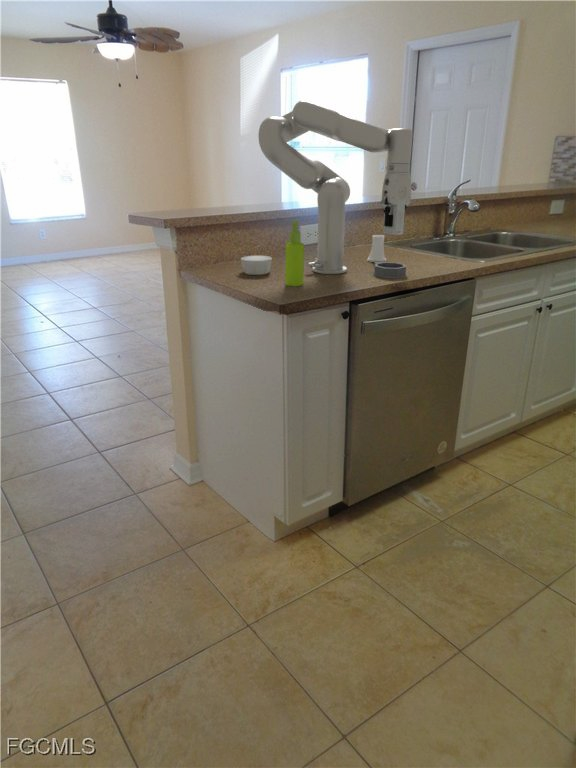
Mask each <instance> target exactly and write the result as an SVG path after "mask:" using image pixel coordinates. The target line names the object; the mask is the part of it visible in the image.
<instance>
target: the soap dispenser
mask: <svg viewBox="0 0 576 768" xmlns="http://www.w3.org/2000/svg"><path fill="white" fill-rule="evenodd" d="M291 225H292V229H291V232H289V242H287V243H285V285H286V286H289V287H290V286H291V287H298V286H299V287H300V286H303V285H304V262H305V261H304V259H305V257H304V256H305V252H304V251H305V244H304V243H303V242H301V232H299V231H298V227H299V221H298V220H292V221H291Z"/></svg>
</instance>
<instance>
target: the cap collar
mask: <svg viewBox="0 0 576 768" xmlns="http://www.w3.org/2000/svg"><path fill="white" fill-rule="evenodd" d="M406 271H407V266H406V264H404V263H400V262H393V261H392V262H391V261H390V262H387V261H386V262H381V263H374V270H373V273H372V275H373V276H374V275H375V276H374V277H377V278H381V277H382V278H383V279H401V278H402V277H403V278H405V277H407V274H406Z"/></svg>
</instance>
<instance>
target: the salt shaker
mask: <svg viewBox="0 0 576 768" xmlns="http://www.w3.org/2000/svg"><path fill="white" fill-rule="evenodd" d="M371 236H372V242H371V243H372V245H371V249H370V251H369V255H368V257H367V258H366V259H367V260H366V261H367V262H368V261H369V262H368V263H372V262H374V264H375V263H381V262H387V258H386V255H385V250H384V249H385V247H384V243H385V241H384V240H385V236H386V235H384V234H373V235H371Z"/></svg>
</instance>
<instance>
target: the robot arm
mask: <svg viewBox="0 0 576 768" xmlns="http://www.w3.org/2000/svg"><path fill="white" fill-rule="evenodd" d="M308 132H312V133H316V134H319V135H321V136H324V137H326V138H330V139H332V140H334V141H337V142H340V143H341V142H342V143H345V144H347V145H350V146H353V147H356V148H357V149H361V150H364V151H365V152H366V151H367V152H370V153H383V152H387V155H386V157H387V158H386V167H385V169H386V170H385V171H386V173H385V176H384V178H383V185H382V191H381V200H380V202H379V207H380V208H381V210H383V215H384V214H385V222H384V221H383V224H384V226H388V227H392V225H393V215H392V212H393V207H394V206H395V205H397V200H398V198H399V199H401V200H402V201H404V199H405V210H406V209H407V208H408V207H409V205H410V204H411V198H412V197H411V196H412V177H411V173H410V165H411V157H412V156H411V155H412V144H413V135H414V134H413V130H412V129H410V128H406V127H403V128H402V127H401V128H400V127H399V128H398V127H397V128H396V127H395V128H390V129H389V128H388V129H387V128H383V127H378V126H376V125H372V124H370V123H366V122H364V121H361V120H359V119H355V118H353V117H351V116H349V115H348V114H346V113H345V112H342V111H339V110H336V109H333V108H330V107H327V106H325V105H322V104H319V103H317V102H314V101H311V100H309V99H302V100H299V101H297V102H296V103H295V105H294V106H293V108H292V111H289V112H288V113H286V114H284V115H282V116H274V115H273V116H269V117H267V118H265V119H263V121H262V122H261V123H260V125H259V129H258V135H257V137H258V145H259V147H260V150H261V152H262V154H263V156H264V157H265V158H266V159H267V160H268V162H270V163H271V164H272V165H273V166H275V167H276V168H277V169H278V170H280V171H281V172H282V173H284V174H285V175H286V176H288V178H290V179H291V180H292V181H294V182H295V183H296V184H297V185H299V187H301V188H302V189H305V190H312V191H313V192H314V193H316V195H317V214H318V215H317V249H316V250H317V251H316V252H317V253H316V254H317V255H316V258H314V261H313V262H312V261H311V262H310V261H309V262H307V263H306V267H307V268H308V269H311V268H312V271H313V272H315V273H318V274H324V275H337V274H344V273H347V271H348V268H347V266H344V252H345V250H344V249H345V226H346V202H347V201H348V200H349V199H350V196H351V188H350V185H349V183H348V182H347V180H345V179H344V178H343V177H341V176H340V175H338V174H337V173H336V172H335V171H333V170H332V169H330V168H329V166H328V165H325V163H323V162H321V161H320V160H318V159H317V160H316V159H309V158H308V157H307V156H305V155H303V154H302V153H301V152H299V151H298V150H297V149H296V148H294V147H293V146H292V145H290V144H288V143H289V142H291V141H293V140H295V139H296V138H298V137H299V136H302V135H303V134H306V133H308ZM388 203H389V204H391V205H389V204H388ZM388 207H390V209H389V208H388Z"/></svg>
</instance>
